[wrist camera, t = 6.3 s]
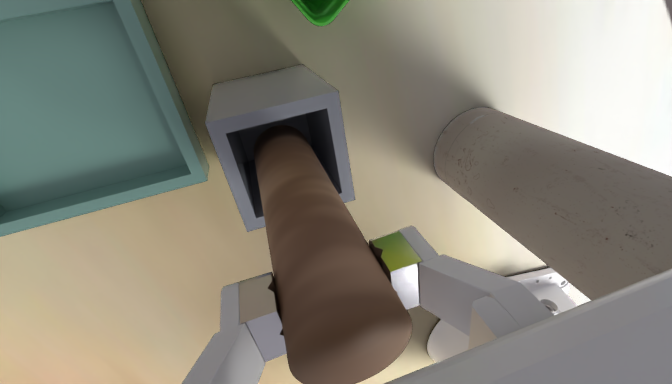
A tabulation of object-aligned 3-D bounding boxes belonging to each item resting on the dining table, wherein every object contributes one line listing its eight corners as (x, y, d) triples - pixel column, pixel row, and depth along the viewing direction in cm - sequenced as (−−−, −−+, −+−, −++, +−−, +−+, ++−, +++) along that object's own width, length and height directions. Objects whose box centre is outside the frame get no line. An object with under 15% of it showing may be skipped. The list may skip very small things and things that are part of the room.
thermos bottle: (509, 163, 34) (1160, 524, 10) (440, 198, 33) (953, 655, 10) (503, 91, 29) (1627, 431, 6) (425, 130, 29) (1285, 662, 5)
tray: (133, -18, 19) (121, -21, 17) (209, 166, 25) (207, 180, 23) (-157, 31, 16) (-213, 34, 14) (6, 219, 23) (-16, 240, 21)
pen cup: (302, 64, 23) (338, 90, 16) (319, 145, 27) (355, 199, 19) (212, 84, 22) (205, 123, 15) (241, 166, 26) (247, 232, 18)
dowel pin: (302, 118, 18) (409, 281, 7) (313, 168, 20) (414, 360, 9) (246, 133, 18) (272, 329, 7) (262, 182, 20) (304, 404, 9)
